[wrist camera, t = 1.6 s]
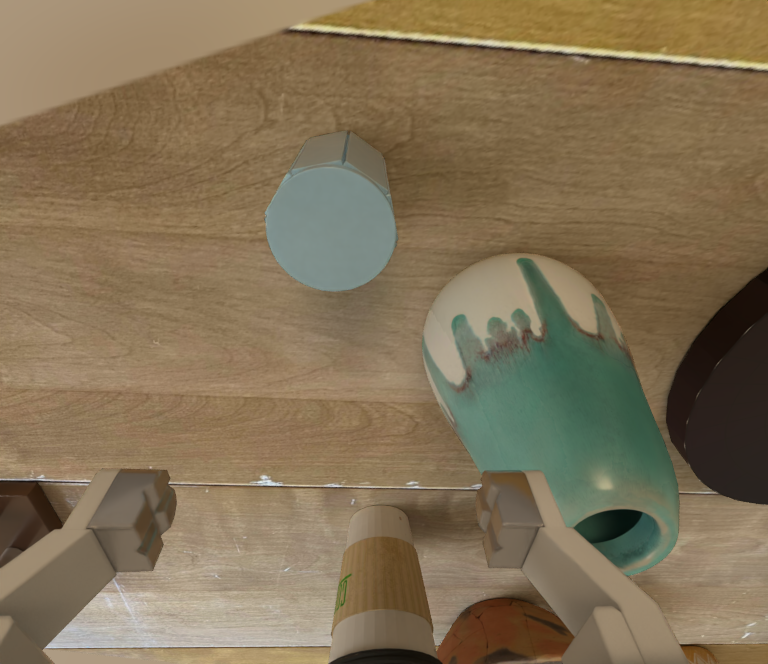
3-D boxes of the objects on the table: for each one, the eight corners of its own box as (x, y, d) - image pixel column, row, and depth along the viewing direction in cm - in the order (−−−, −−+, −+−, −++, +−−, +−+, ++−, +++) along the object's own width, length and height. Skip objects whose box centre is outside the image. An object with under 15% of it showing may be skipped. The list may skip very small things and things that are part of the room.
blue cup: (278, 143, 25) (246, 181, 18) (378, 123, 24) (384, 154, 18) (306, 239, 28) (288, 301, 21) (395, 222, 27) (405, 280, 21)
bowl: (604, 550, 50) (652, 651, 42) (589, 640, 64) (622, 729, 55) (390, 579, 52) (395, 681, 44) (420, 660, 66) (427, 749, 57)
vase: (402, 252, 29) (442, 481, 14) (581, 214, 28) (834, 418, 13) (428, 383, 35) (475, 636, 20) (574, 356, 34) (737, 602, 19)
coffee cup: (314, 530, 46) (294, 713, 33) (368, 481, 42) (369, 669, 29) (388, 558, 49) (396, 732, 37) (445, 515, 45) (475, 696, 33)
